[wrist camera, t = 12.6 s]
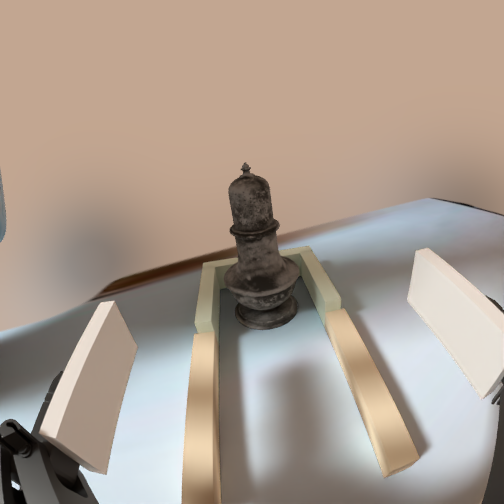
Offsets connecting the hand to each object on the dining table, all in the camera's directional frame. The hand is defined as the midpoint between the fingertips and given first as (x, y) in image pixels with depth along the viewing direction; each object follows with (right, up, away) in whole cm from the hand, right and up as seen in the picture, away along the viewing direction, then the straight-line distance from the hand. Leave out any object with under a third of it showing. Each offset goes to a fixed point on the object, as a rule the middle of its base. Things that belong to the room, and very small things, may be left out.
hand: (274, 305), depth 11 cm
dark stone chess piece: (0, -3, +12) cm, 12 cm away
